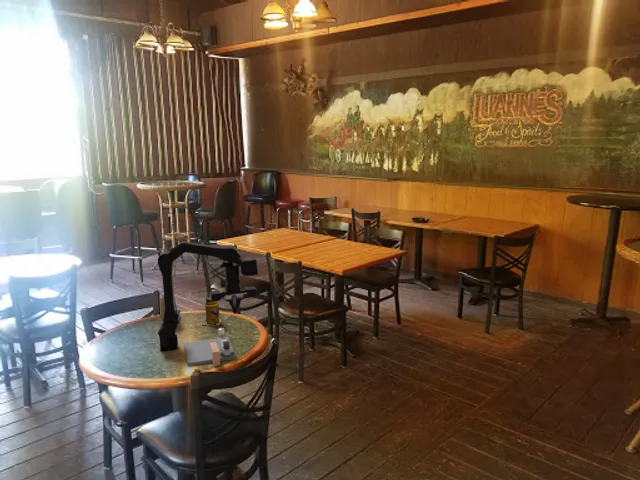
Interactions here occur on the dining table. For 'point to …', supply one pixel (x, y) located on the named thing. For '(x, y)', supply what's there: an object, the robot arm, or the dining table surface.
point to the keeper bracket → (215, 353)
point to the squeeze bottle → (163, 307)
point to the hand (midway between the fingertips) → (234, 313)
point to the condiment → (212, 312)
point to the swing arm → (224, 343)
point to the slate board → (203, 352)
